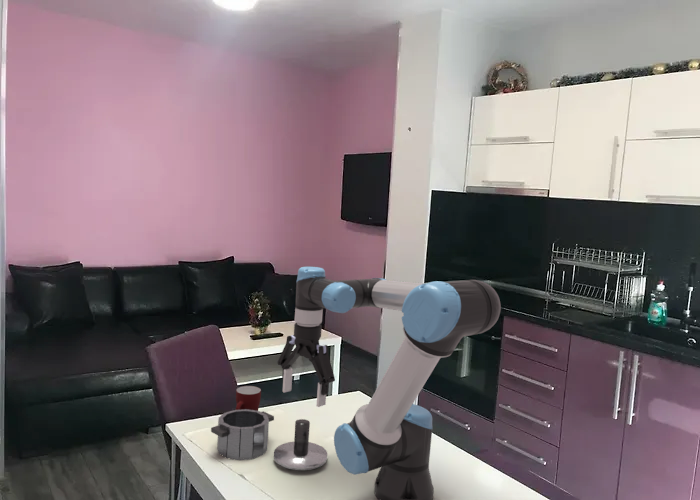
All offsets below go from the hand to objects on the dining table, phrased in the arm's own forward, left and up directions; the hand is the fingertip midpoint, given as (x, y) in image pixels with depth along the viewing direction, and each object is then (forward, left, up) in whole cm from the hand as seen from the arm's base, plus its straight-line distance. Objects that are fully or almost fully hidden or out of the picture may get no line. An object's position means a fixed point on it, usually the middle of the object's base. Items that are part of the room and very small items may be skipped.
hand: (303, 398), depth 159 cm
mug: (+32, -6, -19) cm, 37 cm away
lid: (0, 0, -19) cm, 19 cm away
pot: (+17, +7, -18) cm, 26 cm away
